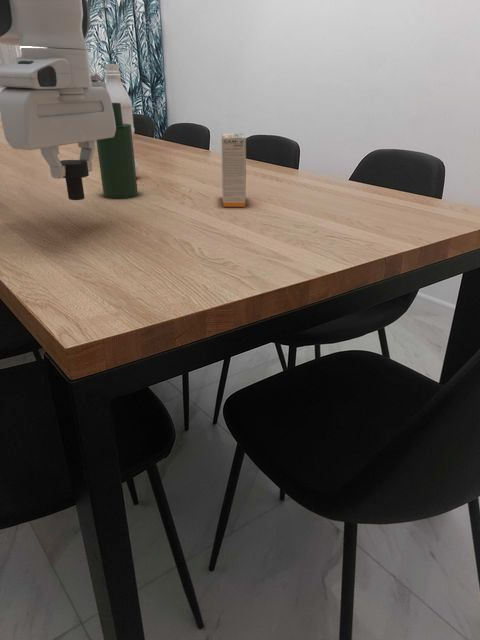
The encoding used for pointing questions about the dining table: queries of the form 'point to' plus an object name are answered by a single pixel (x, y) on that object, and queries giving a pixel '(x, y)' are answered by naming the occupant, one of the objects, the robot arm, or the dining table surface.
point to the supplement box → (234, 170)
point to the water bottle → (120, 97)
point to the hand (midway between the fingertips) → (72, 174)
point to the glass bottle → (118, 160)
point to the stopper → (75, 178)
